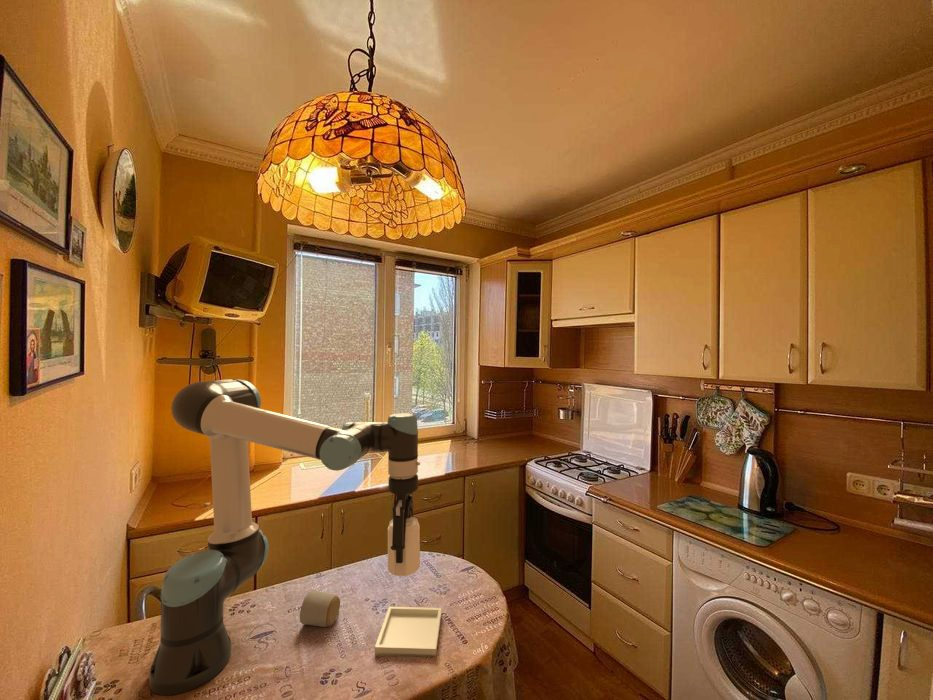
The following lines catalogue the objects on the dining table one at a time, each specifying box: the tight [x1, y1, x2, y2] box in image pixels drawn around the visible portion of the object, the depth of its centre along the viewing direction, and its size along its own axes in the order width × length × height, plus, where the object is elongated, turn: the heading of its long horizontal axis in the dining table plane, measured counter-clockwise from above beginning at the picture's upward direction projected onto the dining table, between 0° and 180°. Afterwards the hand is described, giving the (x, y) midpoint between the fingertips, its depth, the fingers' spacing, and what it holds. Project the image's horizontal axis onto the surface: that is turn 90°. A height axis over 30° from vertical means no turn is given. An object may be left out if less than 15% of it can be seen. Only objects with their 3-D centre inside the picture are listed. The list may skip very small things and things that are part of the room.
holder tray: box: [374, 606, 443, 659], centre depth 97 cm, size 15×15×2 cm
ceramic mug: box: [299, 589, 341, 628], centre depth 102 cm, size 11×8×8 cm
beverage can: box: [387, 517, 421, 577], centre depth 96 cm, size 8×8×12 cm
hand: (403, 564), depth 96 cm, fingers closed on beverage can, 8 cm apart
